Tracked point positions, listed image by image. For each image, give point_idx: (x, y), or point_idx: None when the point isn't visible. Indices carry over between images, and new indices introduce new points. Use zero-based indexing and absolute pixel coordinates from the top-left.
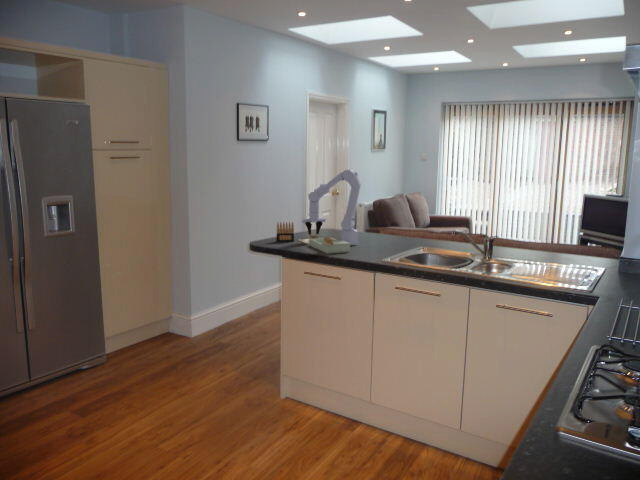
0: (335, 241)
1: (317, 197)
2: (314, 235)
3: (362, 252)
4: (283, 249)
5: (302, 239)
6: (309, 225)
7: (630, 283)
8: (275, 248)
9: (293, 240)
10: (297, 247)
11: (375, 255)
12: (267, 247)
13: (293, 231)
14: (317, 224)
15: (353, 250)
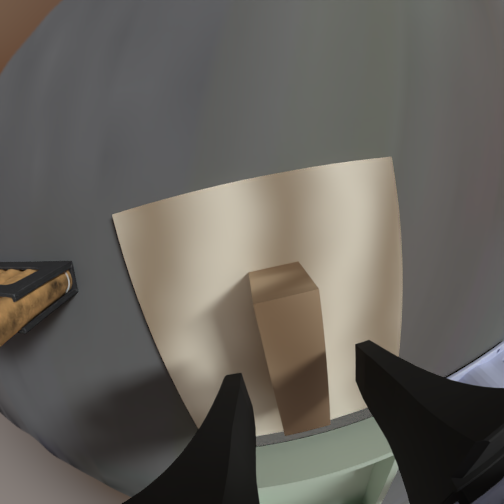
0: (382, 475)
1: None
2: (310, 371)
3: (400, 489)
4: (83, 469)
5: (164, 208)
6: None
7: None
8: (45, 444)
9: (67, 296)
10: (138, 465)
11: (405, 498)
12: (10, 416)
13: (7, 339)
14: (427, 474)
15: (395, 480)
